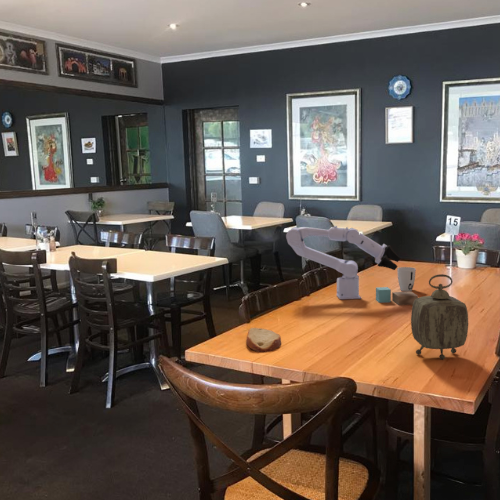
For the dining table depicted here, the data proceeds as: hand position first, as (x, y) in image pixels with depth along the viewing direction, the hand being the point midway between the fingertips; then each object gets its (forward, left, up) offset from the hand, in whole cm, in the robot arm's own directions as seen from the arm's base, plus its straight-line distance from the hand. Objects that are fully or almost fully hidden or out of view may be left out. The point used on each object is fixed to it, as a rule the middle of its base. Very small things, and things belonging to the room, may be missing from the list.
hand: (397, 264), depth 236 cm
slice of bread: (-62, -53, -16) cm, 83 cm away
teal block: (-7, -4, -15) cm, 17 cm away
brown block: (+1, -8, -15) cm, 17 cm away
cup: (+9, +15, -15) cm, 23 cm away
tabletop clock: (-10, -75, -15) cm, 77 cm away
